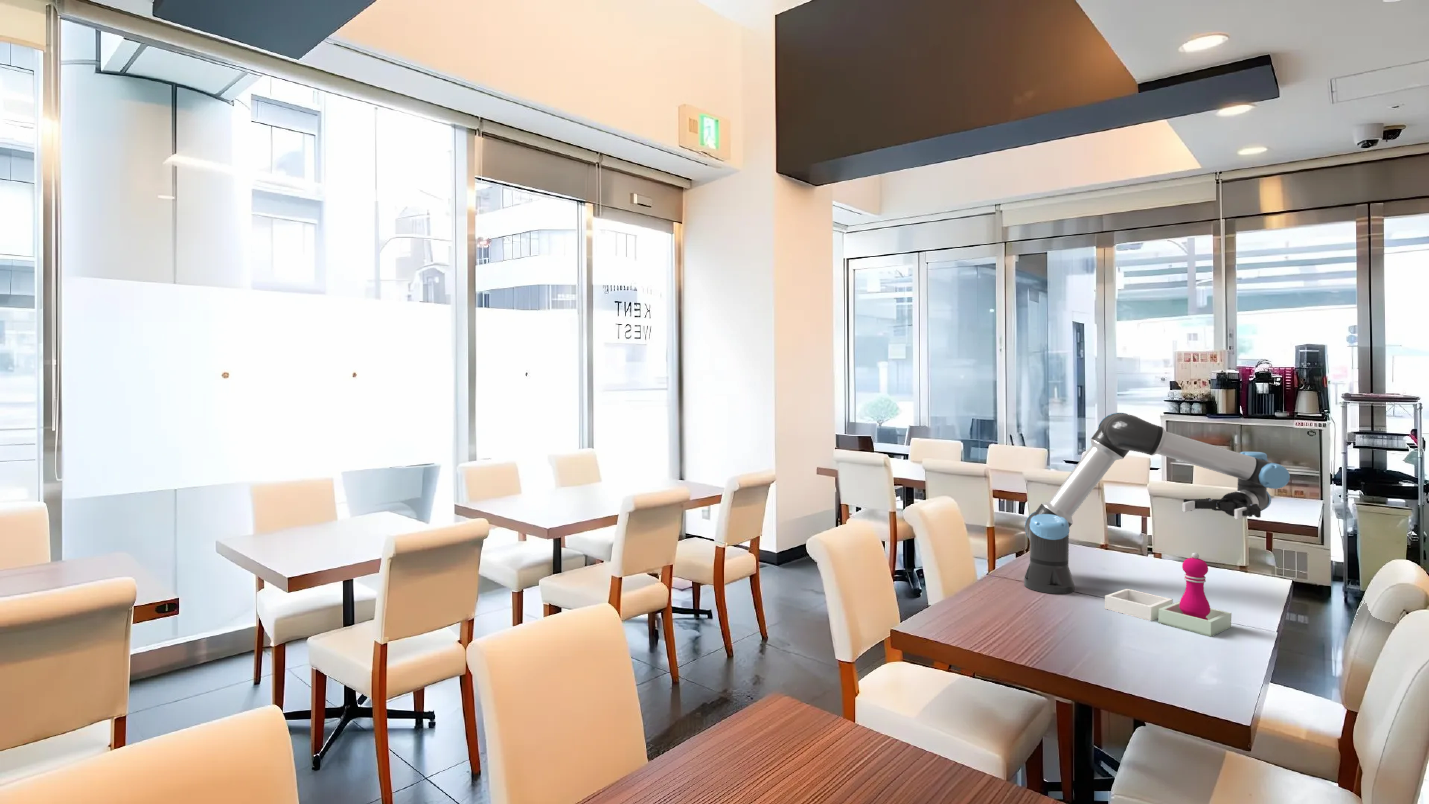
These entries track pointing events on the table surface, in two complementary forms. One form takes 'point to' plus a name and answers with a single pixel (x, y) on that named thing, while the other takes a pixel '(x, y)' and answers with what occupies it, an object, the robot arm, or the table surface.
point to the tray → (1195, 620)
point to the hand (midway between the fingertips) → (1209, 510)
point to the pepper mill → (1195, 588)
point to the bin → (1136, 603)
